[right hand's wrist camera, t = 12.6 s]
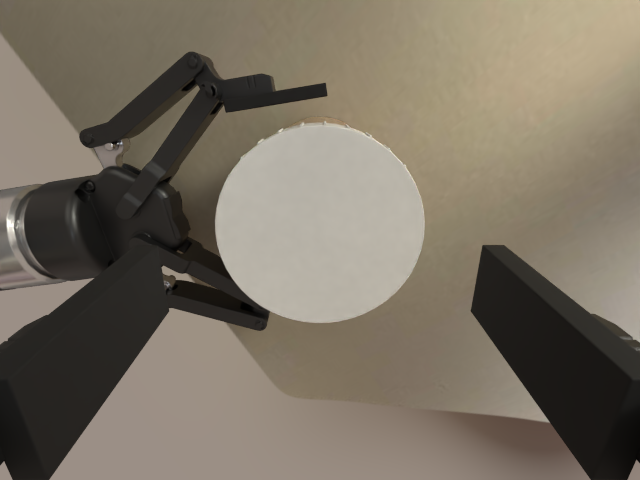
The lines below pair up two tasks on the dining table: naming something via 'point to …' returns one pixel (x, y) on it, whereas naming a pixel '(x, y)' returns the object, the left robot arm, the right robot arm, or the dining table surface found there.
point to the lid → (319, 223)
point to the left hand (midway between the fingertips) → (340, 190)
